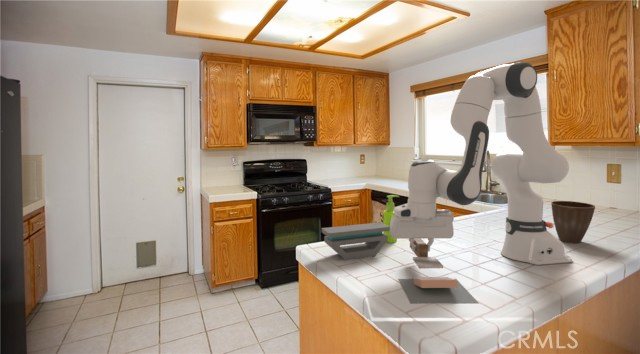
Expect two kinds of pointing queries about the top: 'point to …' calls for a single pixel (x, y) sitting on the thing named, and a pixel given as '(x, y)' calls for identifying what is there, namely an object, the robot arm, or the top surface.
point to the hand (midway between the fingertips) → (420, 251)
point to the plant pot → (572, 219)
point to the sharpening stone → (356, 239)
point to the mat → (435, 294)
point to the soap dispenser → (389, 217)
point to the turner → (424, 256)
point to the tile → (435, 282)
